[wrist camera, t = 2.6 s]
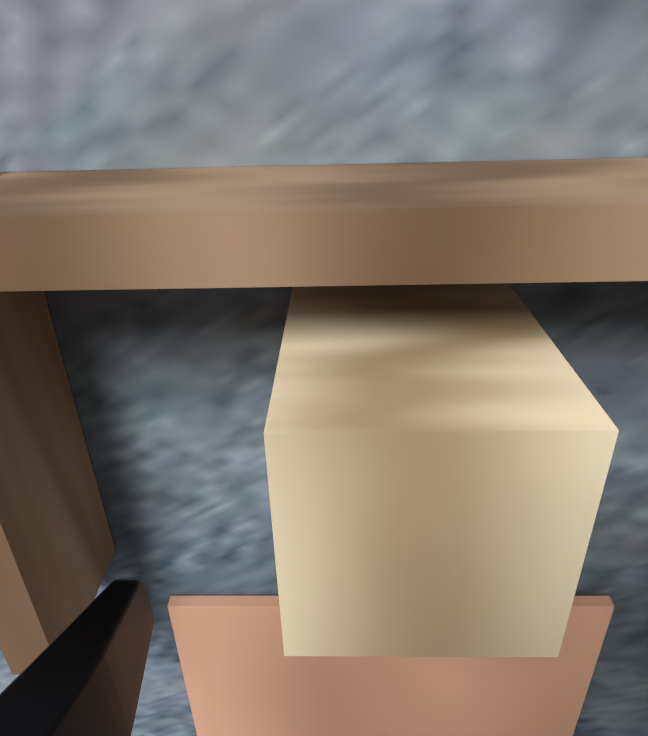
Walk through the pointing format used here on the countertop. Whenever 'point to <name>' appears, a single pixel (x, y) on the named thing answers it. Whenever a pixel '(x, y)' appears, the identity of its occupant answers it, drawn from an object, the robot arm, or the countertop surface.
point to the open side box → (239, 270)
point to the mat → (373, 680)
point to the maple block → (428, 474)
